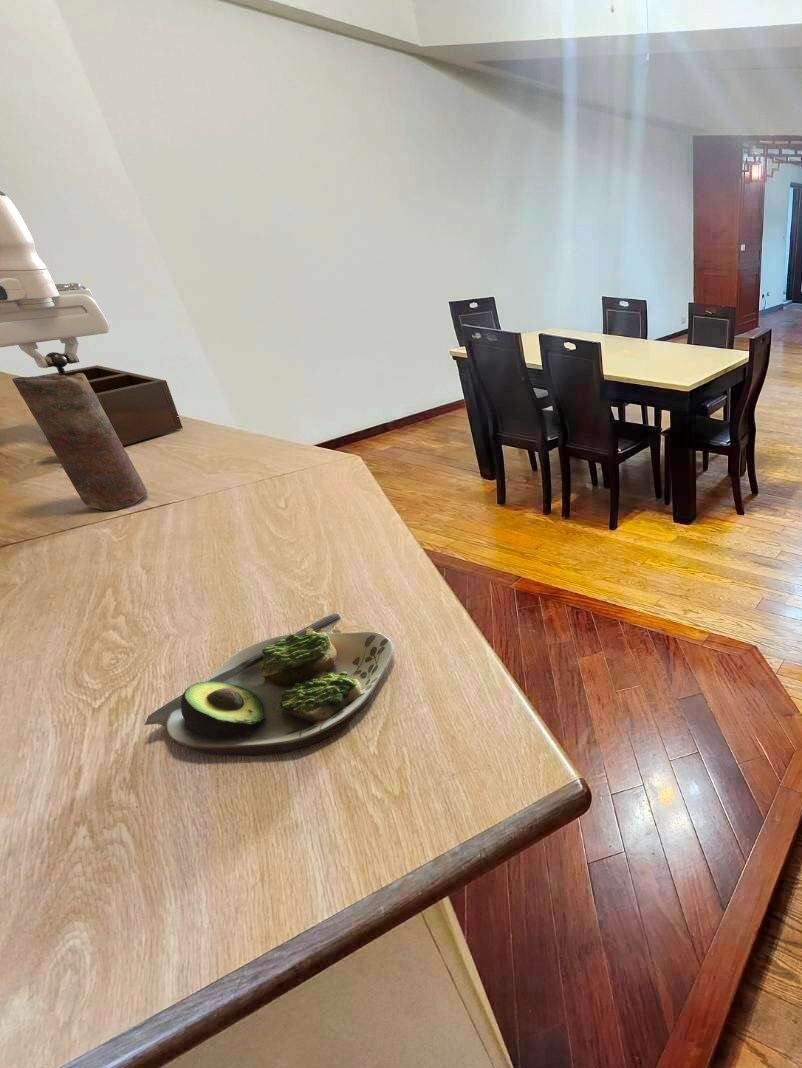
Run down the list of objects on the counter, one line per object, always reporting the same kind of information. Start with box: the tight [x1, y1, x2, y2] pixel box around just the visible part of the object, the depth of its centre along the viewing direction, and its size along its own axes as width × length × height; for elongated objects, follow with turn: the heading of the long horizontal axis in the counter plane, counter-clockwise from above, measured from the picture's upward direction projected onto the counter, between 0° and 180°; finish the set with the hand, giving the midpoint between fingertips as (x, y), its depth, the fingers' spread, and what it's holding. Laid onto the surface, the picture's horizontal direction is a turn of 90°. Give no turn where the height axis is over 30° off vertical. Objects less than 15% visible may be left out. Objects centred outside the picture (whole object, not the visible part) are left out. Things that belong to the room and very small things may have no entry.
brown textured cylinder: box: [12, 373, 148, 512], centre depth 88 cm, size 8×7×20 cm
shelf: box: [34, 351, 184, 446], centre depth 114 cm, size 17×13×14 cm
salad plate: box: [143, 613, 396, 757], centre depth 59 cm, size 19×18×5 cm
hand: (59, 365), depth 113 cm, fingers closed on shelf, 3 cm apart
